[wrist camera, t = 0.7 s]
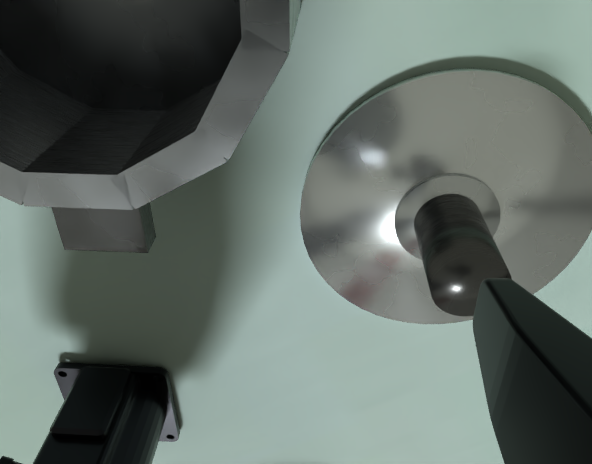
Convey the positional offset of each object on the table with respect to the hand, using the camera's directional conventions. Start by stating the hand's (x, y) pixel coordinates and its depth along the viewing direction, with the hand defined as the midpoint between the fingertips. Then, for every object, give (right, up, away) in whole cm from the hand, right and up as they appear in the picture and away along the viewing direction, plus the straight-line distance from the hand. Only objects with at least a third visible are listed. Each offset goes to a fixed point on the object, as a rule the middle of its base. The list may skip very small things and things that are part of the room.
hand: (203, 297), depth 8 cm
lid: (+8, +2, +14) cm, 16 cm away
